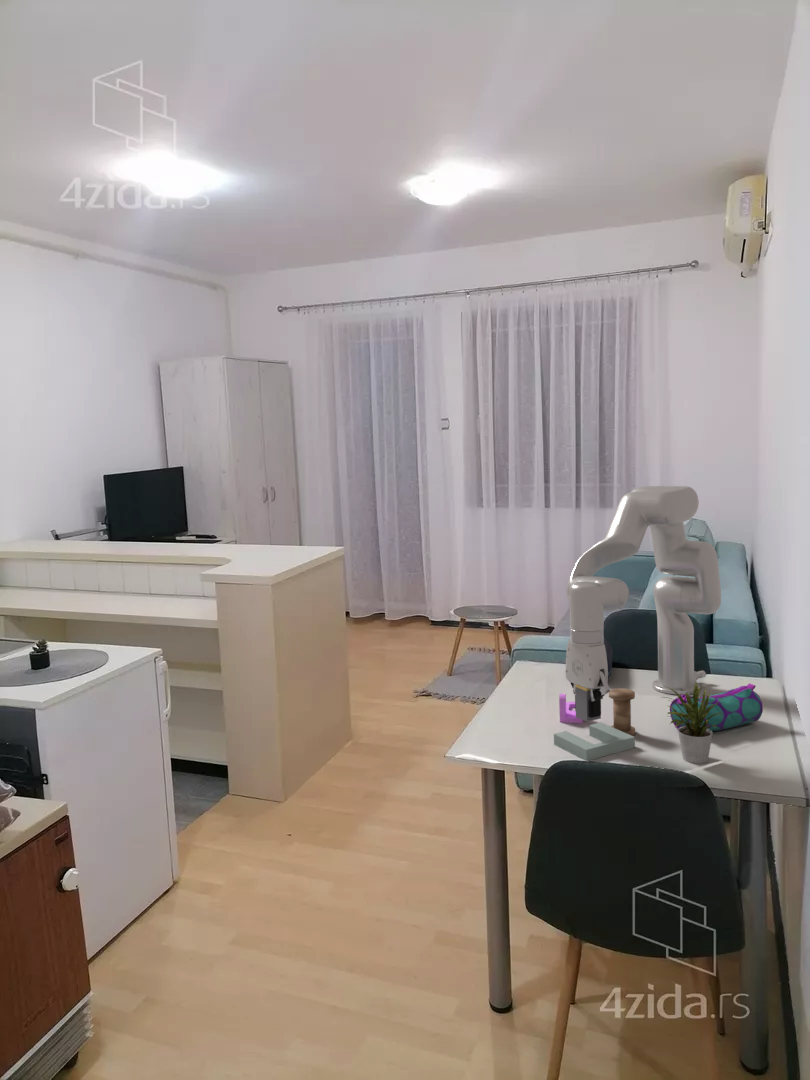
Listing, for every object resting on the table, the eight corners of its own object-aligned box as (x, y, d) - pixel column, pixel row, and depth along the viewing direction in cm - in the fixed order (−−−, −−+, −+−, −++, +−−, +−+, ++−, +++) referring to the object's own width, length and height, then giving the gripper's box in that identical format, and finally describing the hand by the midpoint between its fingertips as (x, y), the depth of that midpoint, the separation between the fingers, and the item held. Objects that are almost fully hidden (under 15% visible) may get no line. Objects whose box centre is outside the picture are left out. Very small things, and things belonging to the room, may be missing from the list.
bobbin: (623, 726, 187) (622, 687, 186) (640, 734, 182) (640, 693, 181) (604, 731, 185) (603, 691, 184) (621, 739, 179) (620, 697, 178)
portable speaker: (580, 663, 244) (580, 632, 243) (613, 664, 242) (612, 633, 241) (576, 687, 220) (575, 653, 219) (611, 688, 218) (611, 654, 217)
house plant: (658, 742, 176) (657, 673, 175) (722, 746, 172) (722, 676, 171) (659, 767, 163) (659, 692, 161) (729, 772, 159) (729, 695, 157)
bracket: (582, 724, 191) (581, 697, 190) (559, 723, 192) (559, 696, 191) (584, 707, 203) (583, 681, 202) (562, 706, 205) (562, 681, 204)
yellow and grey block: (575, 716, 178) (575, 683, 177) (589, 713, 179) (588, 680, 179) (587, 721, 174) (586, 687, 173) (600, 718, 176) (600, 684, 175)
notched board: (600, 732, 184) (600, 722, 184) (634, 747, 174) (634, 736, 174) (554, 744, 178) (553, 733, 178) (586, 760, 168) (586, 749, 168)
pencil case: (693, 741, 176) (693, 701, 175) (668, 728, 185) (668, 690, 184) (765, 727, 183) (765, 688, 182) (738, 716, 191) (738, 678, 190)
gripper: (551, 631, 181) (552, 706, 183) (598, 645, 166) (599, 727, 168) (576, 627, 184) (577, 701, 186) (624, 640, 169) (625, 720, 171)
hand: (588, 712), depth 177 cm, fingers closed on yellow and grey block, 4 cm apart
